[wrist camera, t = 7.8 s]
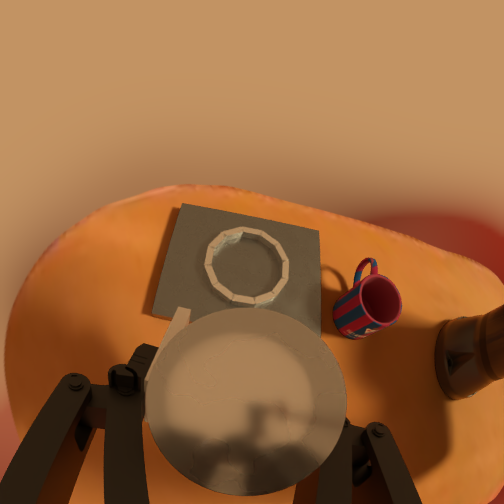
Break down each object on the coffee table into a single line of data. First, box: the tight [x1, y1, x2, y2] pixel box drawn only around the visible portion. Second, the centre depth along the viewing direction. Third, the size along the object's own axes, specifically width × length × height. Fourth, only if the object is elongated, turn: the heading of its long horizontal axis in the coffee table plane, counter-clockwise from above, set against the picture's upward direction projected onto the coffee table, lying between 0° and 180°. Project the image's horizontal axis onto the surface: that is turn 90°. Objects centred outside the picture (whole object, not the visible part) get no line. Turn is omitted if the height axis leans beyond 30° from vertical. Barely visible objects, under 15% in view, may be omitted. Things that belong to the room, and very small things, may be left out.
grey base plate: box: [152, 203, 321, 338], centre depth 34 cm, size 20×16×3 cm
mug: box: [333, 258, 402, 340], centre depth 33 cm, size 7×10×7 cm
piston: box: [146, 308, 347, 496], centre depth 11 cm, size 6×6×12 cm
